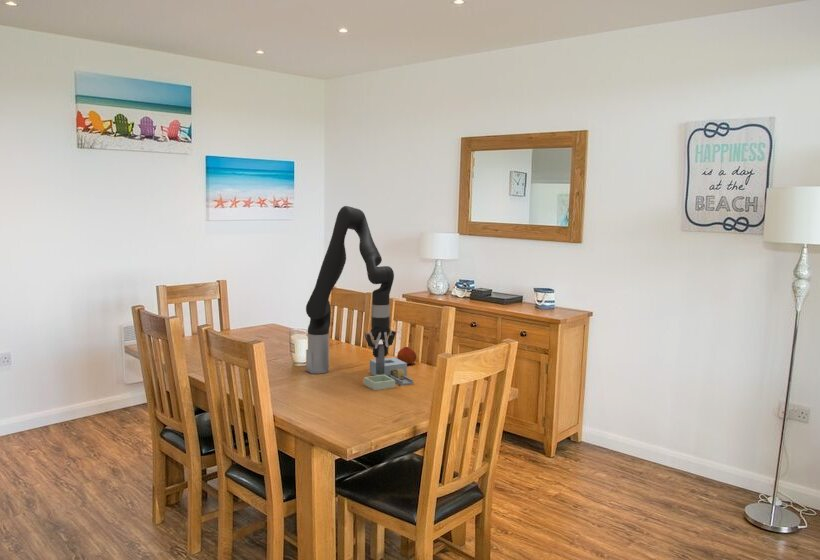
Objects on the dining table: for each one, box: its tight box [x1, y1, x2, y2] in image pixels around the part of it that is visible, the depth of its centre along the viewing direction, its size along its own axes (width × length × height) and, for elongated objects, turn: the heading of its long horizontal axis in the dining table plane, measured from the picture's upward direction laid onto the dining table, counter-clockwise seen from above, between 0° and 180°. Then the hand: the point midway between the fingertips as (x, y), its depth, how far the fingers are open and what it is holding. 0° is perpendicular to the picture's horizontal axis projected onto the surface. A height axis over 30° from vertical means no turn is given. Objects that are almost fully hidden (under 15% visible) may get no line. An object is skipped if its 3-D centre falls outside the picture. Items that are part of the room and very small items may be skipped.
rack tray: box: [363, 375, 396, 391], centre depth 267 cm, size 10×10×3 cm
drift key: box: [391, 369, 404, 379], centre depth 277 cm, size 9×3×4 cm, turn 30°
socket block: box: [369, 356, 415, 387], centre depth 278 cm, size 23×12×6 cm, turn 30°
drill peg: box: [375, 343, 386, 375], centre depth 265 cm, size 4×4×12 cm
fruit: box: [396, 346, 417, 365], centre depth 302 cm, size 9×9×8 cm
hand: (380, 356), depth 265 cm, fingers closed on drill peg, 3 cm apart
